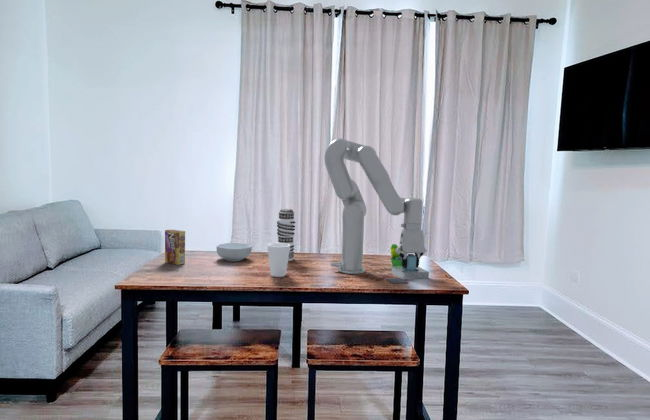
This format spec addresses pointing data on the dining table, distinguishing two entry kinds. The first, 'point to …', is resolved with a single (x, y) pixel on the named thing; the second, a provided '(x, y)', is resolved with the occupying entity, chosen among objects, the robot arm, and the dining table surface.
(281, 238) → the decorative candle
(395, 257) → the fruit basket
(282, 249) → the foam cup
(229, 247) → the cereal bowl
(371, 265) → the dining table surface
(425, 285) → the dining table surface
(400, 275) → the frame
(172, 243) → the candy box
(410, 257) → the blue cylinder
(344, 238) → the robot arm
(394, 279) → the mat
